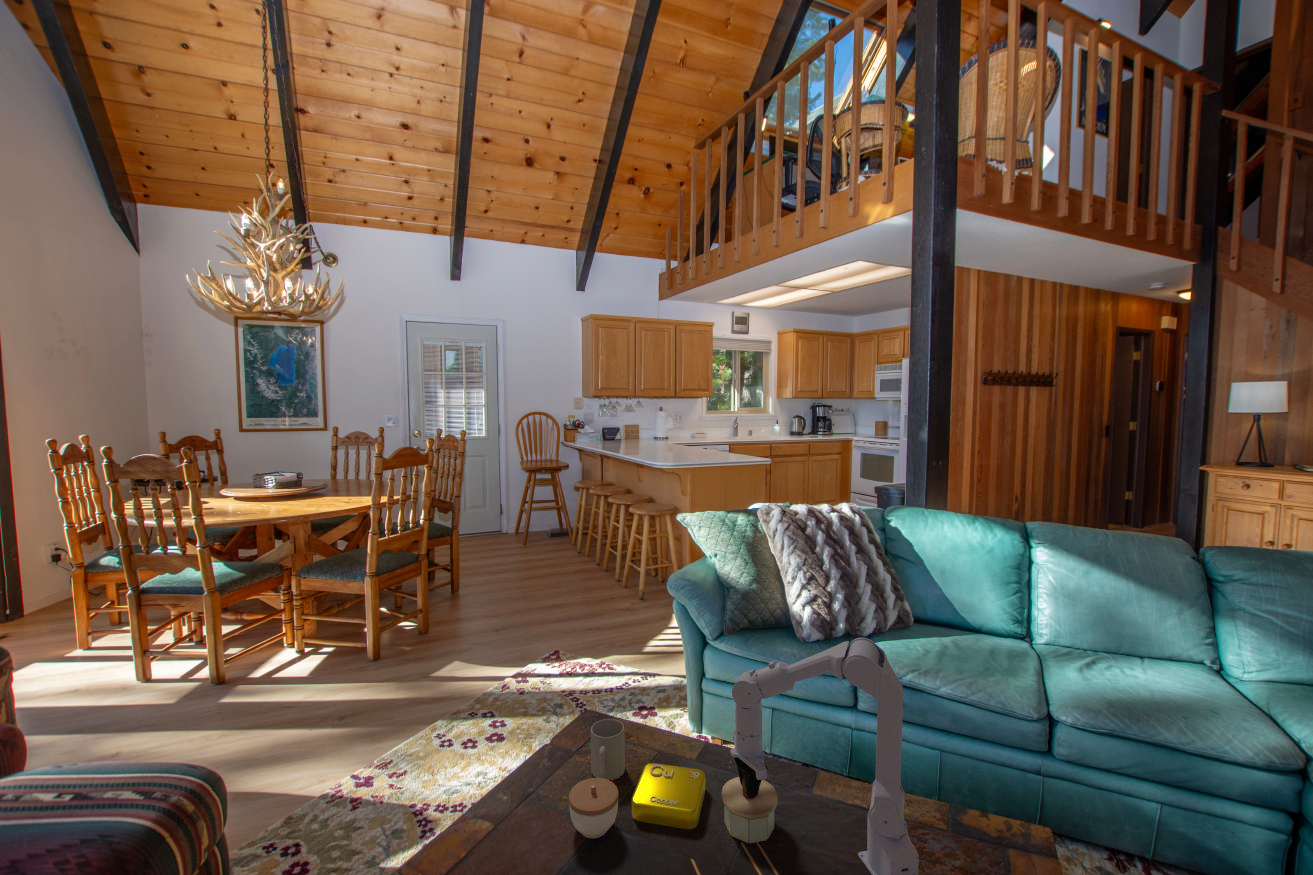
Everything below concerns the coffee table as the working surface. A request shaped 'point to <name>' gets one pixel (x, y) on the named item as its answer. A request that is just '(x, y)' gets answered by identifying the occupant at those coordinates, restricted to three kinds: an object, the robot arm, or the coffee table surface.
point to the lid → (749, 799)
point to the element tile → (669, 796)
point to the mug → (607, 749)
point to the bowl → (749, 826)
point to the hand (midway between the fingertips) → (749, 790)
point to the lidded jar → (593, 806)
